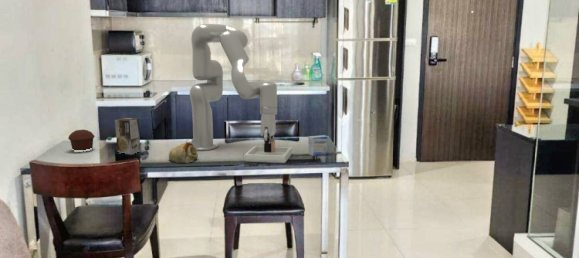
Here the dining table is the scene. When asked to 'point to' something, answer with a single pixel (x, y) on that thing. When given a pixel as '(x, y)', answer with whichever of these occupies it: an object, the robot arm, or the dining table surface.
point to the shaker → (272, 145)
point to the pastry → (183, 153)
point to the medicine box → (318, 145)
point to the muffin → (81, 139)
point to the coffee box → (127, 135)
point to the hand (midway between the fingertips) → (269, 150)
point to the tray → (268, 155)
